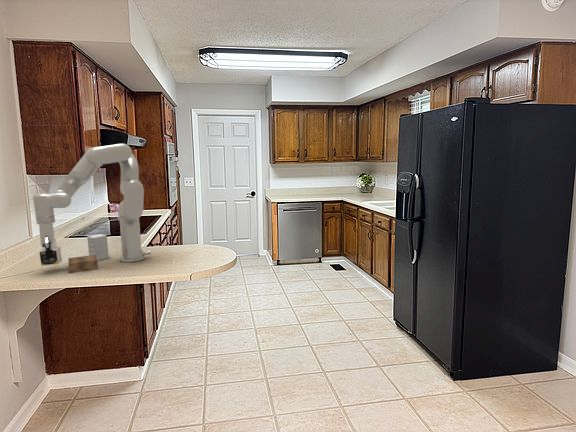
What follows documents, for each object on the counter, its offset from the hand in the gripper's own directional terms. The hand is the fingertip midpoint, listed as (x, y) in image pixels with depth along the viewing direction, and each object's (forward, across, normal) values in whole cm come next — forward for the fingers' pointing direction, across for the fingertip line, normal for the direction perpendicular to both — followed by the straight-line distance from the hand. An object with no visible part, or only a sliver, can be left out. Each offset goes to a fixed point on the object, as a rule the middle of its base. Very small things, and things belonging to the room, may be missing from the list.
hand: (50, 256), depth 191 cm
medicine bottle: (+4, 0, 0) cm, 4 cm away
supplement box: (+8, -16, +20) cm, 27 cm away
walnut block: (+8, +1, +13) cm, 15 cm away
